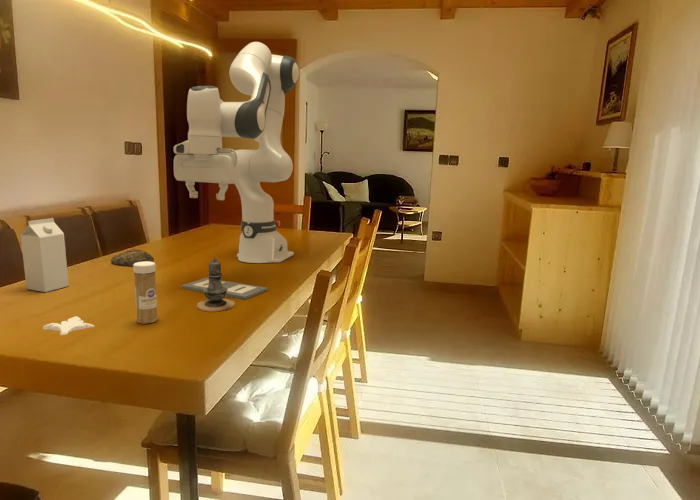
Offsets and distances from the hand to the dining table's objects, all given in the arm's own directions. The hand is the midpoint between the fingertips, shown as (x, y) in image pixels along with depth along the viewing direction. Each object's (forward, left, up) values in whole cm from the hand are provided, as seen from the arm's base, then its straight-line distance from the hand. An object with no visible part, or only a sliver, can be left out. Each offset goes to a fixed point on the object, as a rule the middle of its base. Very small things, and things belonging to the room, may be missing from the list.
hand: (207, 198), depth 133 cm
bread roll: (-11, -43, -26) cm, 51 cm away
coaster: (+13, +13, -25) cm, 31 cm away
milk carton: (+23, -37, -25) cm, 50 cm away
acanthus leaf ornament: (+40, -4, -26) cm, 48 cm away
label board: (0, +5, -25) cm, 26 cm away
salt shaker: (+13, +13, -25) cm, 31 cm away
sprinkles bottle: (+29, +7, -25) cm, 39 cm away
